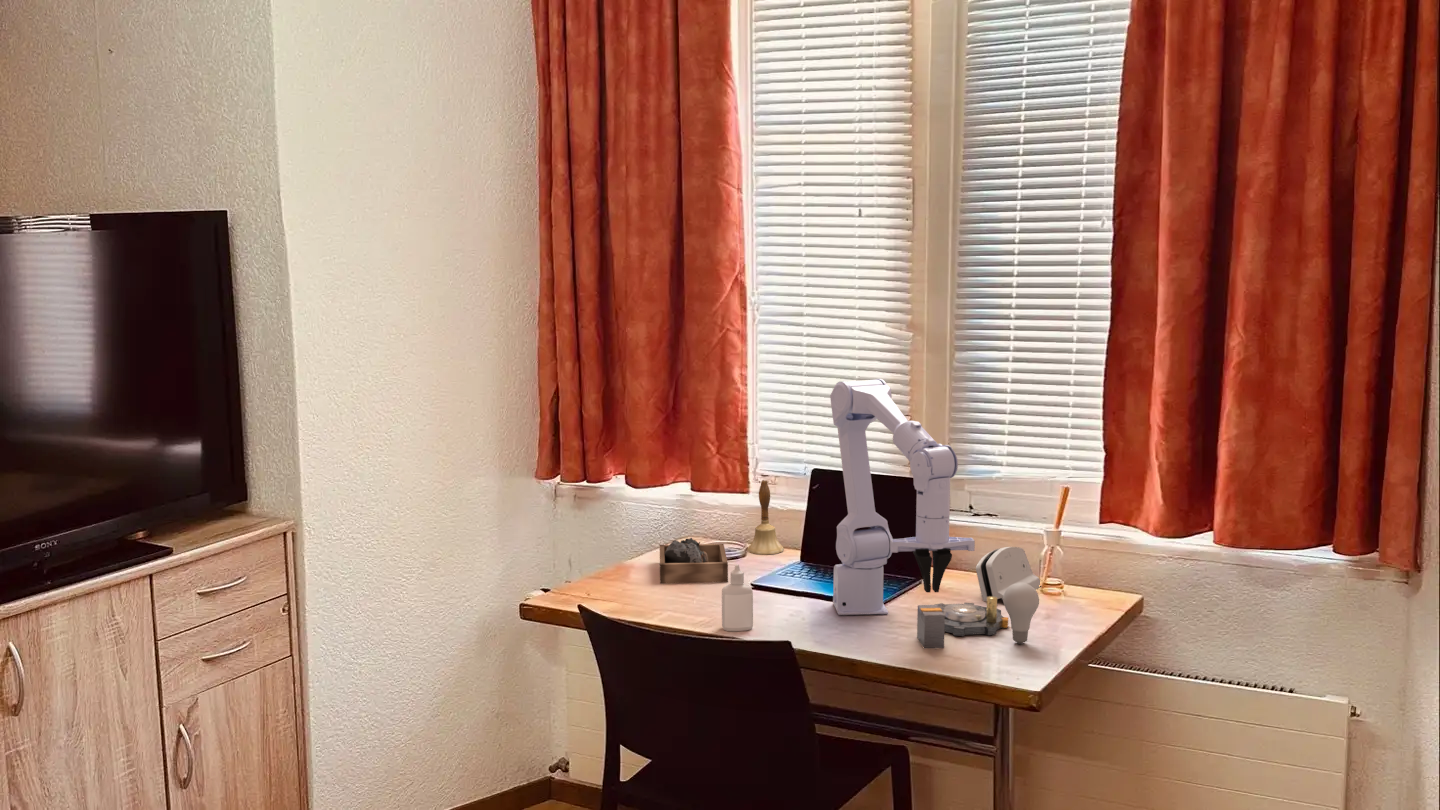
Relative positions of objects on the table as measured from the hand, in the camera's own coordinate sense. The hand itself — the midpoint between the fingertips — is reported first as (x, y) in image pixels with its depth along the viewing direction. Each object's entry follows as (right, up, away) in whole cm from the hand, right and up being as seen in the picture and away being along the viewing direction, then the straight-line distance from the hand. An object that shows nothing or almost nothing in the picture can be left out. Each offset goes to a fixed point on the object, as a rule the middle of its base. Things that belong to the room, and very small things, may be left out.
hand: (931, 590), depth 220 cm
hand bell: (-27, -1, +64) cm, 70 cm away
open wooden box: (-43, -3, +47) cm, 64 cm away
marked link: (0, -9, +1) cm, 10 cm away
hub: (+8, -8, +12) cm, 16 cm away
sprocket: (+8, -8, +12) cm, 16 cm away
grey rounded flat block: (+20, -5, +31) cm, 38 cm away
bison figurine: (-43, -3, +47) cm, 63 cm away
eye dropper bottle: (-34, -9, +10) cm, 36 cm away
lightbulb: (+16, -10, 0) cm, 18 cm away
